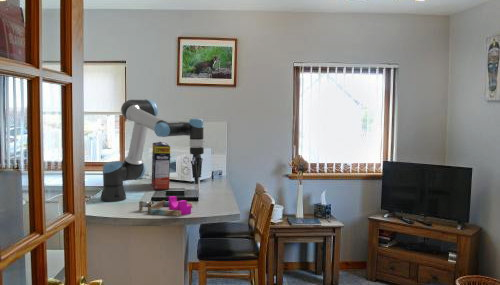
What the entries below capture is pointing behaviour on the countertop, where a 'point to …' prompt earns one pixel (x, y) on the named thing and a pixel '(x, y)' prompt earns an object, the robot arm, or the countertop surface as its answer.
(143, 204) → the winch drum
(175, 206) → the toy block
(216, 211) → the countertop surface
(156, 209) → the rack bay
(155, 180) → the cereal box
